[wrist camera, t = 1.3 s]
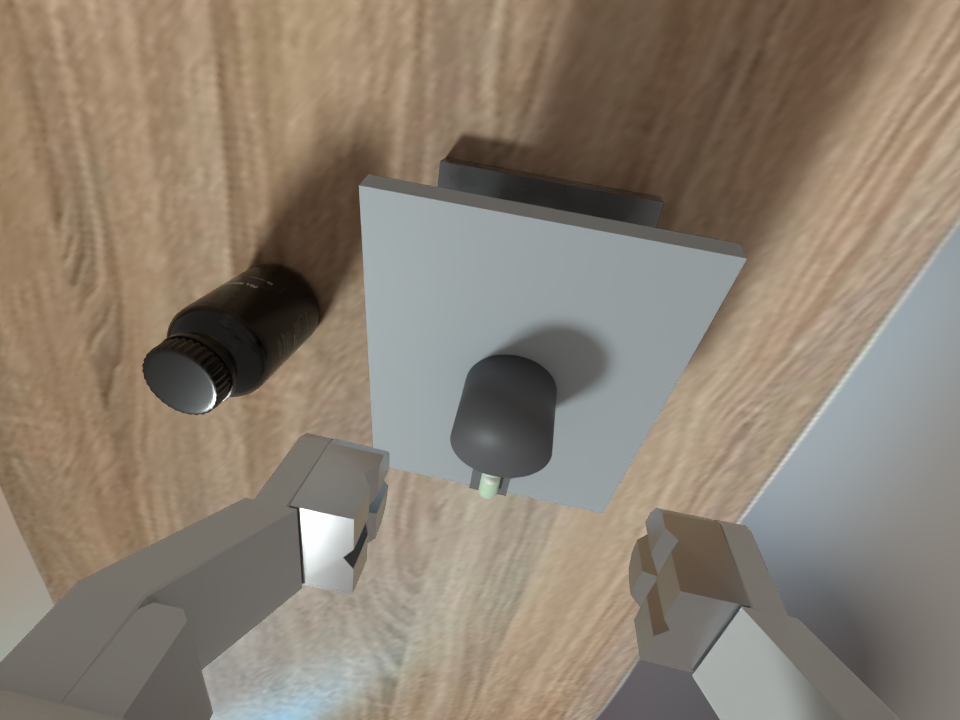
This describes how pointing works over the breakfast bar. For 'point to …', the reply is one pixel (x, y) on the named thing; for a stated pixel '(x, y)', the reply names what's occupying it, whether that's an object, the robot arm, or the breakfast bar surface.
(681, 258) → the plate
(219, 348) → the supplement bottle
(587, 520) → the breakfast bar surface
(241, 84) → the breakfast bar surface
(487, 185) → the stand
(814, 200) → the breakfast bar surface
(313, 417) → the breakfast bar surface
